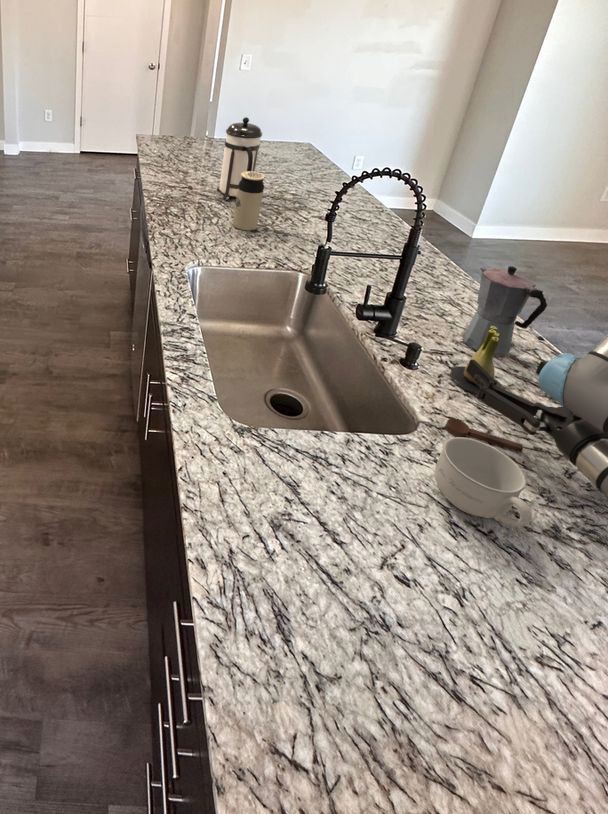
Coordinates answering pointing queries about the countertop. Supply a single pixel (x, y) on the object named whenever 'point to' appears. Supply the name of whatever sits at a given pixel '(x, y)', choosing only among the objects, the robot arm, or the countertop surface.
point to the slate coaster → (465, 380)
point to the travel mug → (248, 200)
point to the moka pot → (501, 307)
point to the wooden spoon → (479, 435)
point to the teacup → (481, 480)
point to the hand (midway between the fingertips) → (504, 365)
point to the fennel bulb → (485, 353)
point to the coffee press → (239, 155)
